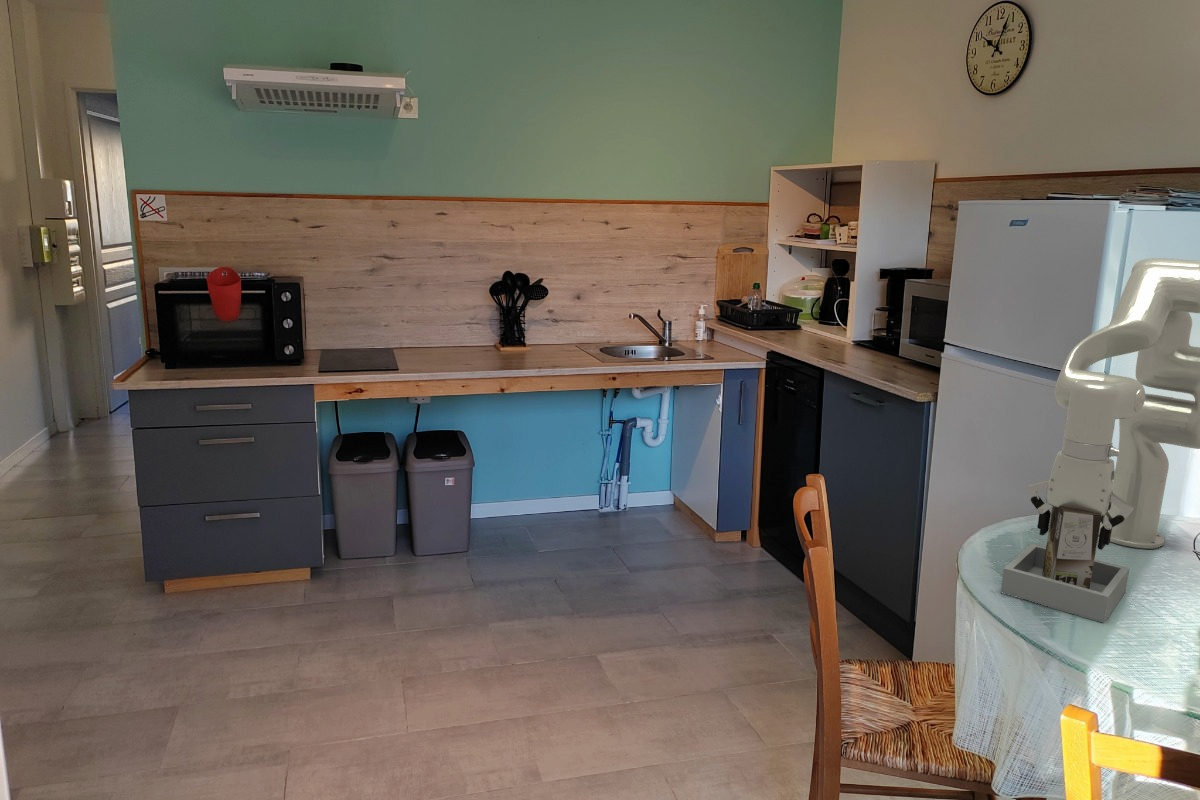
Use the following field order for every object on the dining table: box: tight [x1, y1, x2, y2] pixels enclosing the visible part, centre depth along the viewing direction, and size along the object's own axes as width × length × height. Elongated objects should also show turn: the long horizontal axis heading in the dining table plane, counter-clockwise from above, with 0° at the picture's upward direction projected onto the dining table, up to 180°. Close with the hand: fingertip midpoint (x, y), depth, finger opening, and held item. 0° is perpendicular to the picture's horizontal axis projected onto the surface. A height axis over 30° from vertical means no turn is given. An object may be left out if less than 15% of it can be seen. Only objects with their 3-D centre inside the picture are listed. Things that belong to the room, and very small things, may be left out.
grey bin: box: [1000, 543, 1130, 624], centre depth 166 cm, size 17×17×5 cm
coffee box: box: [1042, 506, 1102, 589], centre depth 165 cm, size 9×6×16 cm
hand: (1071, 540), depth 164 cm, fingers open, 9 cm apart
